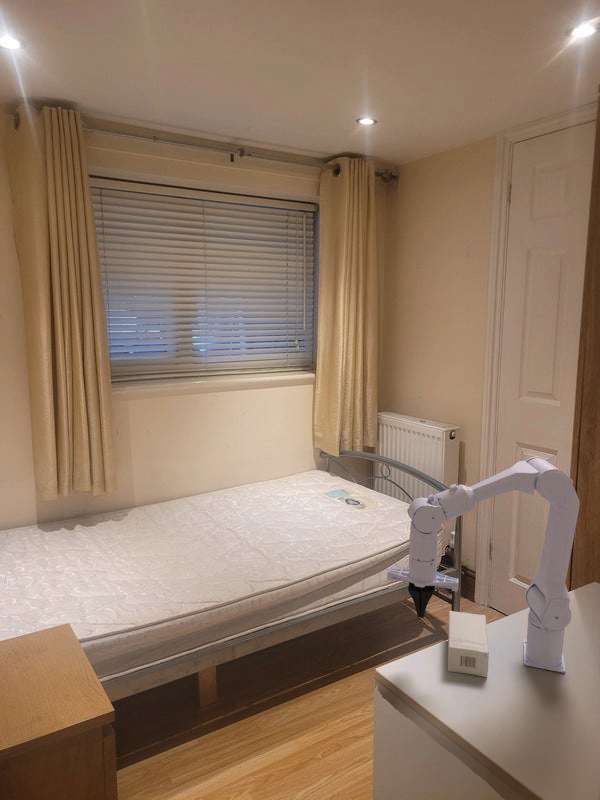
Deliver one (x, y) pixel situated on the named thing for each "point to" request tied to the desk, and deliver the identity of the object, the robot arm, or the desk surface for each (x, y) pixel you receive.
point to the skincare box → (468, 644)
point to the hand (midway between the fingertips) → (421, 615)
